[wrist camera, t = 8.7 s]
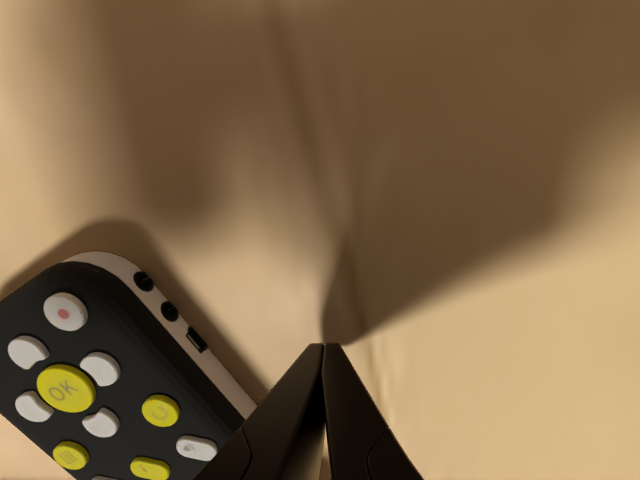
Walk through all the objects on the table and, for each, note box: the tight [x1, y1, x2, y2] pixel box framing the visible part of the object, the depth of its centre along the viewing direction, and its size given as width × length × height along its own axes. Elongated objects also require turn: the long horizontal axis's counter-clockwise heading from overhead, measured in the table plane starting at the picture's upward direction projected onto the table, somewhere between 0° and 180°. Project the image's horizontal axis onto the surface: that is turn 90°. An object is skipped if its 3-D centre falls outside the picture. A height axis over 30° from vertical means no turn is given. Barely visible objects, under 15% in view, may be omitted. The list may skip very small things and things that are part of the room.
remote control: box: [0, 251, 320, 480], centre depth 10 cm, size 6×13×2 cm, turn 32°
